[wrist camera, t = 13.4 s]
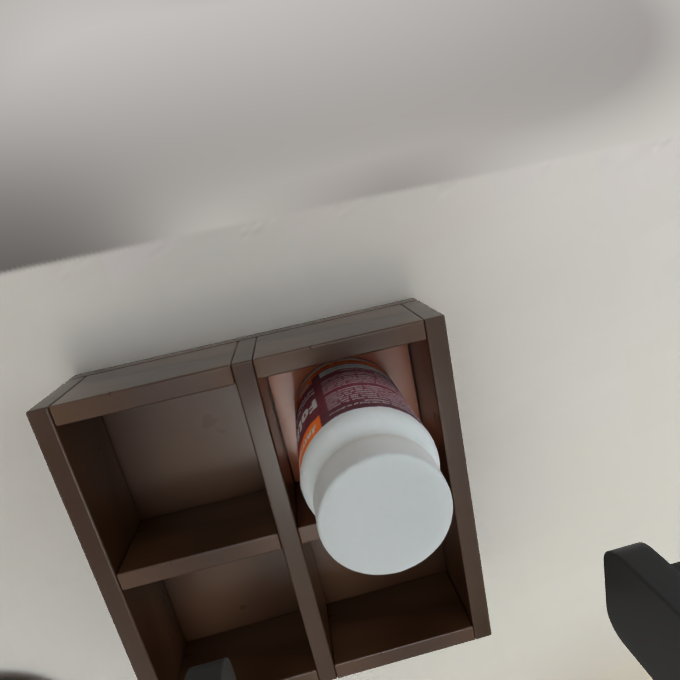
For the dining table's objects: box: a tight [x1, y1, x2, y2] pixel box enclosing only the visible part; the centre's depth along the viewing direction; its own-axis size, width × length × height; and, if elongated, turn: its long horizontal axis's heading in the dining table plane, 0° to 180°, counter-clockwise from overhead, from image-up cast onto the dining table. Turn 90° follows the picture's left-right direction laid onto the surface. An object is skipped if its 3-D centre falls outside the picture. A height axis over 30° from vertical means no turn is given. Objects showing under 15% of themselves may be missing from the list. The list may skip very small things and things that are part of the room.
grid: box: [26, 298, 491, 680], centre depth 21 cm, size 15×15×4 cm
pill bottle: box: [295, 358, 453, 575], centre depth 17 cm, size 5×5×8 cm
